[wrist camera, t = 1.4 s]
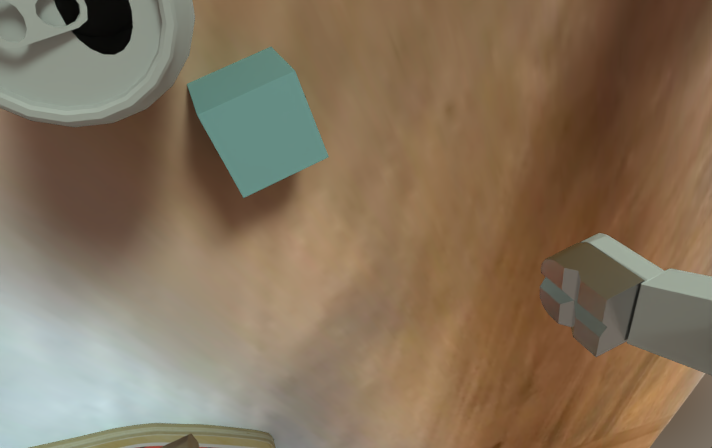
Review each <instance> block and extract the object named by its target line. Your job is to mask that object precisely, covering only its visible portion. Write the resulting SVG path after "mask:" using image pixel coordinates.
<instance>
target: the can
mask: <svg viewBox="0 0 712 448" xmlns="http://www.w3.org/2000/svg"><path fill="white" fill-rule="evenodd" d="M194 21H195V15H194V8H193V2H192V0H0V108H2V109H4V110H7V111H9V112H12V113H14V114H16V115H19V116H21V117H24V118H26V119H29V120H31V121H37V122H43V123H50V124H56V125H63V126H70V127H81V126H90V125H99V124H108V123H114V122H117V121H119V120H122V119H124V118H126V117H129V116H131V115H133V114H136V113H138V112H140V111H143V110H145V109H147V108H148V107H149V106H150V105H152V104H153V103H154V102H155V101H156V100H157V99H158V98H159V97H160V96H162V95H163V94H164V93H165V92H166V91H167V90H168V89H169V88H170V87H172V86H173V84H174V82H175V80H176V78H177V76H178V75H179V73H180V71H181V69H182V67H183V65H184V64H185V62H186V60H187V58H188V56H189V53H190V46H191V40H192V34H193V27H194Z"/></svg>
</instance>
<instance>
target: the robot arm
mask: <svg viewBox="0 0 712 448" xmlns="http://www.w3.org/2000/svg"><path fill="white" fill-rule="evenodd" d="M541 273H542V274H543V275H544V276H545V277H546V278H545V279H544V281H543V283H542V284H541V286H540V299H541V301H542V304H543V306H544V308H545V310H546V311H547V312H548V314H549V315H550V316H551V317H552V318H553V319H554V320H555V321H556V322H557V323H558V324H562V325H565V326H569V327H571V329H572V334H573V337H574V338H575V339H576V340H577V341H578V342H580V343H581V344H582V345H583V346H584V347H585V348H586V349H587V350H589V351H590V352H591V353H592V354H593V355H594V356H595V357H597V356H599V355H601V354H603V353H605V352H607V351H609V350H611V349H613V348H615V347H616V346H618V345H620V344H622V343H624V342H626V341H627V343H628V344H630V345H633V346H636V347H638V348H641V349H644V350H646V351H649V352H651V353H654V354H657V355H659V356H662V357H664V358H667V359H670V360H672V361H675V362H678V363H680V364H683V365H685V366H688V367H691V368H693V369H696V370H698V371H701V372H704V373H706V374H709V375H712V277H711V276H706V275H701V274H696V273H691V272H686V271H681V270H676V269H671V268H670V269H667V270H665V271H664V270H662V269H661V268H659V267H658V266H656V265H654V264H653V263H651V262H650V261H648V260H647V259H645V258H643V257H642V256H640V255H639V254H637V253H635V252H634V251H632V250H631V249H629V248H627V247H626V246H624V245H623V244H621V243H619V242H618V241H616V240H615V239H613V238H611V237H610V236H608V235H606V234H602V233H598V234H596V235H594V236H592V237H590V238H588V239H586V240H584V241H582V242H580V243H576V244H574V245H572V246H570V247H568V248H566V249H564V250H563V251H561V252H559V253H557V254H555V255H553V256H551V257H549V258H547V259H545V260H544V262H543V263H542V266H541ZM160 448H199V443H198V441H197V440H196V439H195V437H194V436H193V435H192V434H189V435H186V436H184V437H182V438H180V439H178V440H176V441H173V442H171V443H169V444H167V445H165V446H162V447H160ZM711 448H712V447H711Z"/></svg>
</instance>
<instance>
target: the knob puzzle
mask: <svg viewBox="0 0 712 448" xmlns="http://www.w3.org/2000/svg"><path fill="white" fill-rule="evenodd" d="M189 434H192V435H193V436H194V437H195V439H196V440H197V441H198V443H199V448H275V444H274V440H273V438H272V436H271V435H270V434H268V433H266V432H262V431H257V430H250V429H242V428H233V427H224V426H214V425H200V424H166V423H151V424H141V425H133V426H126V427H120V428H115V429H110V430H105V431H101V432H97V433H93V434H88V435H84V436H80V437H76V438H71V439H66V440H62V441H57V442H52V443H48V444H43V445H39V446H34V447H30V448H160V447H162V446H165V445H167V444H169V443H171V442H173V441H176V440H178V439H180V438H182V437H184V436H186V435H189Z"/></svg>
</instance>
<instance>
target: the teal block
mask: <svg viewBox="0 0 712 448" xmlns="http://www.w3.org/2000/svg"><path fill="white" fill-rule="evenodd" d="M187 86H188V89H189V92H190V95H191V98H192V101H193V104H194V107H195V110H196V113H197V116H198V118H199V119H200V121H201V123H202V125H203V127H204V128H205V130H206V132H207V134H208V135H209V137H210V139H211V141H212V143H213V144H214V146H215V148H216V150H217V151H218V153H219V155H220V157H221V159H222V160H223V162H224V164H225V166H226V167H227V169H228V171H229V173H230V175H231V176H232V178H233V180H234V182H235V183H236V185H237V187H238V189H239V191H240V192H241V194H242V196H243V198H245V197H247V196H249V195H251V194H253V193H255V192H257V191H259V190H261V189H263V188H265V187H268V186H270V185H272V184H274V183H276V182H278V181H280V180H282V179H284V178H286V177H288V176H290V175H292V174H294V173H297V172H299V171H301V170H303V169H305V168H307V167H309V166H311V165H313V164H315V163H317V162H319V161H321V160H323V159H326V158H328V157H329V156H328V154H327V151H326V149H325V146H324V144H323V141H322V139H321V136H320V134H319V131H318V128H317V126H316V123H315V121H314V118H313V116H312V113H311V111H310V108H309V105H308V103H307V100H306V98H305V95H304V93H303V90H302V88H301V85H300V83H299V80H298V77H297V75H296V72H295V70H294V69H293V68H292V67H291V66H290V65H289V64H288V63H287V62H286V61H285V60H284V59H283V58H282V57H281V56H280V55H279V54H278V53H277V52H276V51H275V50H274V49H273V48H272V47H269V48H267V49H265V50H262V51H260V52H258V53H256V54H253V55H251V56H249V57H247V58H244V59H242V60H240V61H238V62H235V63H233V64H231V65H229V66H226V67H224V68H222V69H220V70H217V71H215V72H213V73H211V74H208V75H206V76H204V77H202V78H199V79H197V80H195V81H193V82H190V83H188V84H187Z"/></svg>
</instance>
